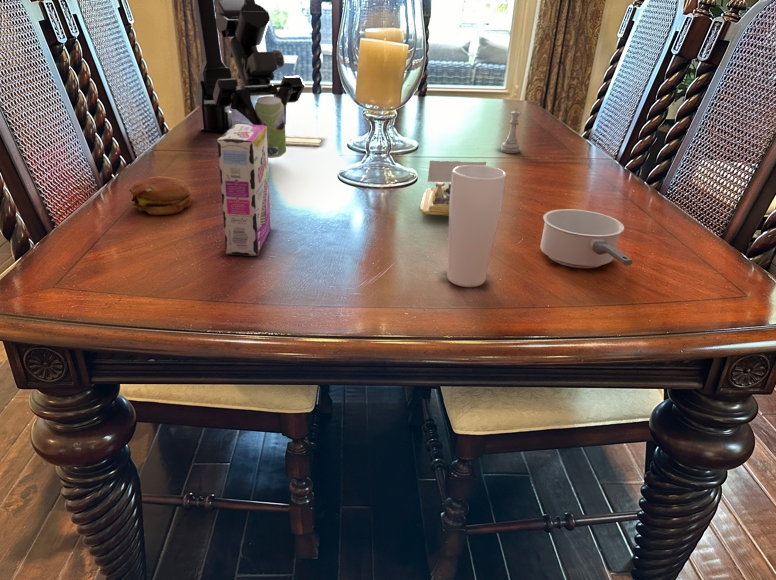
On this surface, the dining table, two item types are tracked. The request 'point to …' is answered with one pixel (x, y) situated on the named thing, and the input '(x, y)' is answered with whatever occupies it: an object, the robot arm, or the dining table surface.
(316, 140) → the towel
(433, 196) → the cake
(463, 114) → the dining table surface
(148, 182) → the burger
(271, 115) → the beverage can
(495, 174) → the drinking glass
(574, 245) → the saucepan
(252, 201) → the white pink box
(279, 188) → the dining table surface
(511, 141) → the chess piece
